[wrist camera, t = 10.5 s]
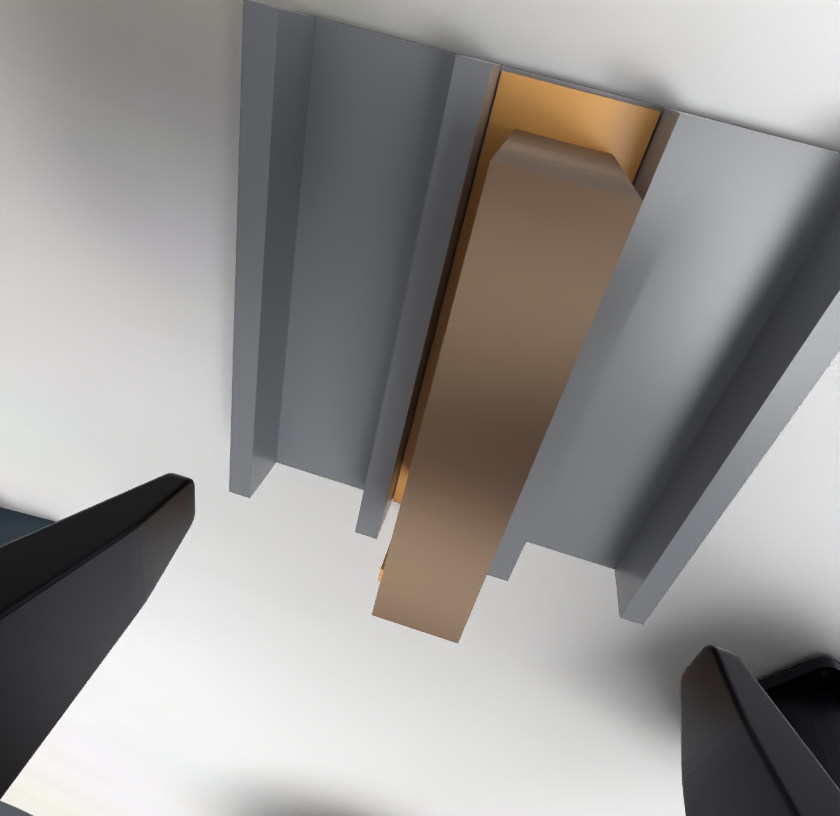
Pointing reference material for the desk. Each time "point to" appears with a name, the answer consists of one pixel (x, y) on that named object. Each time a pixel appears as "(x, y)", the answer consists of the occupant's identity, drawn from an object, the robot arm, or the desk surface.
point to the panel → (502, 367)
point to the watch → (18, 525)
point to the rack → (441, 268)
